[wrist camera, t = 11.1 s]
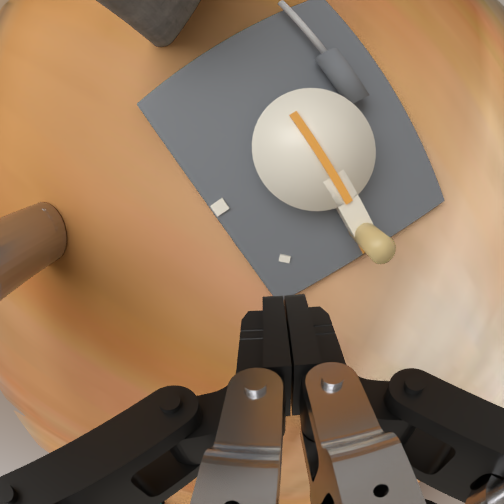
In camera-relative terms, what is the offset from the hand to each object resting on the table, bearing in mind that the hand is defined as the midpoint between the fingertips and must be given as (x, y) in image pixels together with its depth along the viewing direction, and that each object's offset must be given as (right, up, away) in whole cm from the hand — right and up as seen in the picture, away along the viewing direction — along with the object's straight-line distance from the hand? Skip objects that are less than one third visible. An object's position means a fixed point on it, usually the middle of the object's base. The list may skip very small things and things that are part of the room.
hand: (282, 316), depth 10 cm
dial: (+6, +11, +17) cm, 21 cm away
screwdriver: (+7, +24, +12) cm, 28 cm away
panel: (+5, +14, +18) cm, 23 cm away
